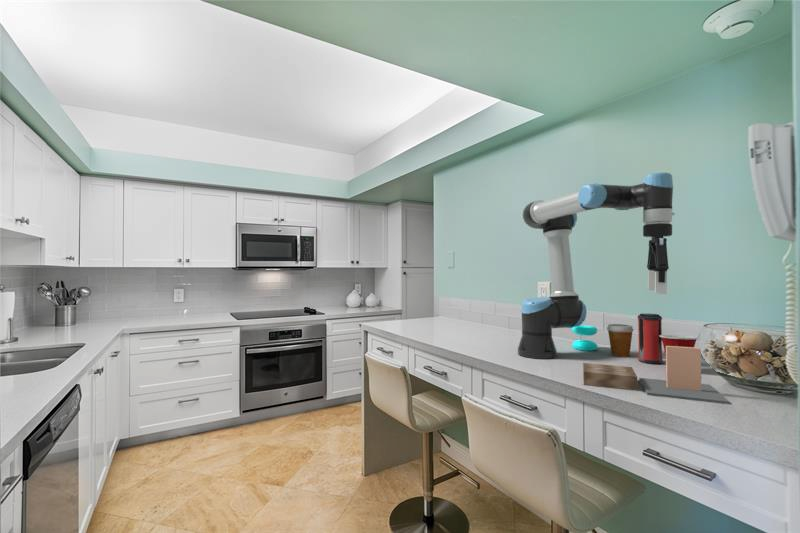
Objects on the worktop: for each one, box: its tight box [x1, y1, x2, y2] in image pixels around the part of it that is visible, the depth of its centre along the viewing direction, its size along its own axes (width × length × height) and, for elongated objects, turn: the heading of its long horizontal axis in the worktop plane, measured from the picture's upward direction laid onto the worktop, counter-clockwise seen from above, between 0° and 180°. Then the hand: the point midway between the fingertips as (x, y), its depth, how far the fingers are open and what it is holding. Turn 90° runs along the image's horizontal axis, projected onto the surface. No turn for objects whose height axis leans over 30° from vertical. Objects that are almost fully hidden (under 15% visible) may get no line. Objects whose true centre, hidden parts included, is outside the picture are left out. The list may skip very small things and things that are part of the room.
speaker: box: [637, 313, 663, 365], centre depth 143 cm, size 8×8×18 cm
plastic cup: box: [659, 334, 698, 356], centre depth 132 cm, size 11×11×12 cm
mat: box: [638, 377, 730, 405], centre depth 109 cm, size 18×16×1 cm
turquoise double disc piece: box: [571, 324, 598, 352], centre depth 167 cm, size 10×10×10 cm
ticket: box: [665, 346, 702, 391], centre depth 109 cm, size 8×1×12 cm, turn 66°
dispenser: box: [582, 362, 638, 391], centre depth 118 cm, size 14×12×4 cm
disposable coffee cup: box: [606, 323, 635, 358], centre depth 155 cm, size 10×10×12 cm
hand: (656, 291), depth 118 cm, fingers open, 13 cm apart
